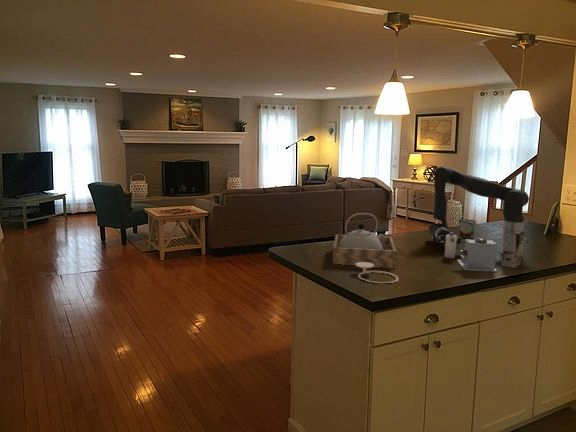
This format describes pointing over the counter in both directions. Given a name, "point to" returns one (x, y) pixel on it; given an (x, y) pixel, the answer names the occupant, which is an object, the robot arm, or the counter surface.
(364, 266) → the hand towel holder
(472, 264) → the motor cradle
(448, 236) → the white bottle
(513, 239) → the coffee box
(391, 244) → the kettle caddy
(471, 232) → the food container
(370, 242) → the kettle
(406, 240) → the counter surface
